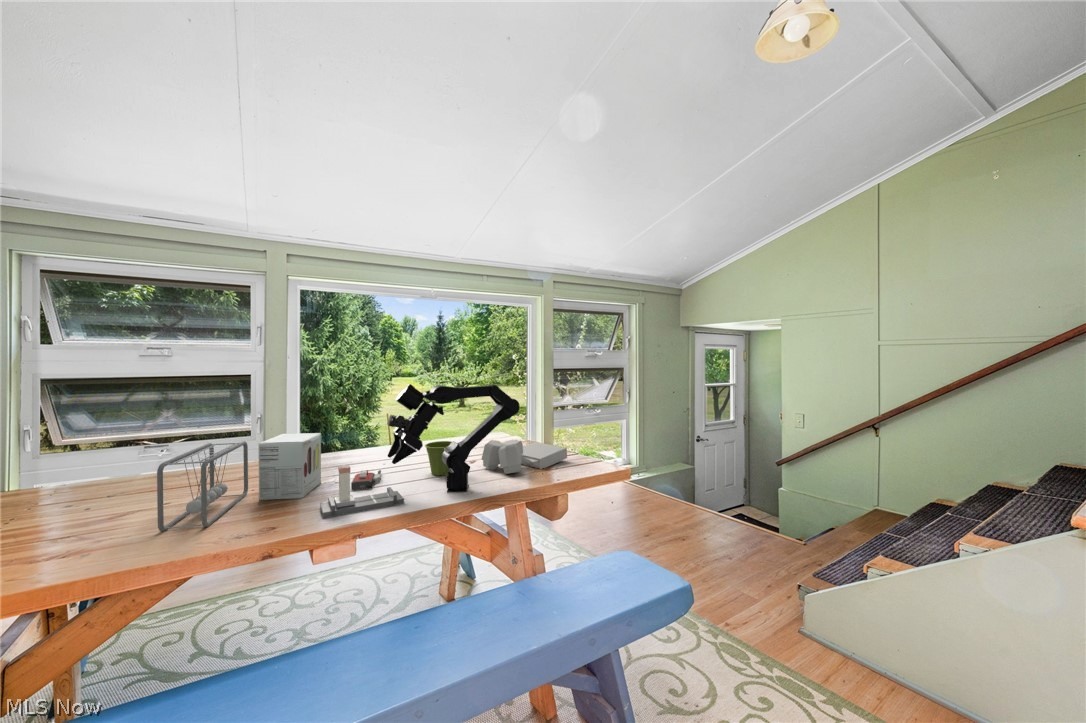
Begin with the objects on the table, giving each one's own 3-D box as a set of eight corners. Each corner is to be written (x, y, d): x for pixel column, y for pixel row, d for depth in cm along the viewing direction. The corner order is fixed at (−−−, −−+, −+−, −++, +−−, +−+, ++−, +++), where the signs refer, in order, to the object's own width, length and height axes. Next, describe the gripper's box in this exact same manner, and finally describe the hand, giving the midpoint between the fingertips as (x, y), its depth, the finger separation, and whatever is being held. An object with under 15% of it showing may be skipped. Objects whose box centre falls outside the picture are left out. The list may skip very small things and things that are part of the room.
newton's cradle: (205, 529, 111) (205, 461, 111) (156, 534, 108) (155, 464, 108) (248, 494, 140) (248, 439, 139) (210, 497, 137) (210, 441, 136)
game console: (568, 458, 180) (566, 428, 179) (512, 483, 157) (509, 449, 156) (535, 451, 194) (532, 423, 193) (479, 472, 171) (476, 441, 170)
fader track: (397, 495, 138) (397, 486, 138) (404, 503, 130) (404, 493, 130) (320, 508, 126) (320, 498, 126) (323, 518, 119) (323, 507, 118)
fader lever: (352, 498, 129) (352, 463, 129) (355, 504, 124) (355, 467, 124) (334, 501, 127) (333, 465, 127) (336, 507, 122) (336, 470, 121)
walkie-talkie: (378, 490, 144) (382, 474, 164) (377, 477, 144) (382, 462, 164) (349, 492, 142) (358, 476, 161) (349, 479, 142) (358, 464, 161)
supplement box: (303, 498, 135) (303, 441, 135) (257, 501, 133) (257, 443, 132) (322, 482, 152) (322, 432, 152) (282, 484, 150) (281, 433, 149)
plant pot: (432, 468, 170) (432, 440, 170) (460, 469, 169) (460, 441, 168) (419, 477, 159) (419, 446, 158) (450, 478, 157) (450, 447, 157)
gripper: (396, 401, 143) (365, 441, 139) (406, 407, 127) (372, 452, 122) (423, 420, 147) (394, 458, 143) (436, 428, 131) (404, 472, 127)
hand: (390, 460), depth 134 cm, fingers open, 9 cm apart
